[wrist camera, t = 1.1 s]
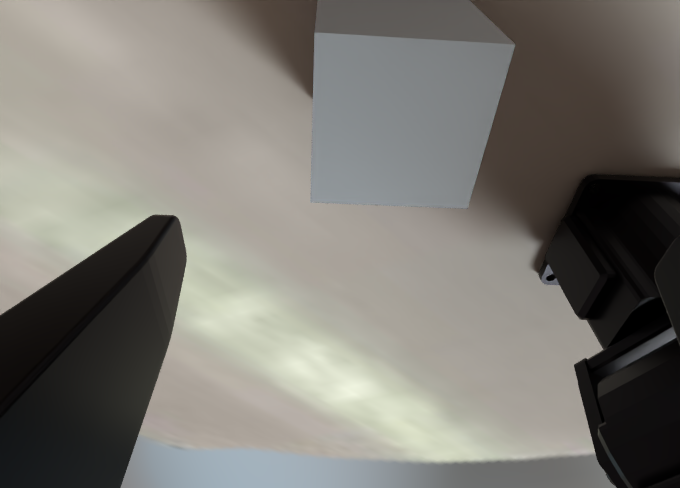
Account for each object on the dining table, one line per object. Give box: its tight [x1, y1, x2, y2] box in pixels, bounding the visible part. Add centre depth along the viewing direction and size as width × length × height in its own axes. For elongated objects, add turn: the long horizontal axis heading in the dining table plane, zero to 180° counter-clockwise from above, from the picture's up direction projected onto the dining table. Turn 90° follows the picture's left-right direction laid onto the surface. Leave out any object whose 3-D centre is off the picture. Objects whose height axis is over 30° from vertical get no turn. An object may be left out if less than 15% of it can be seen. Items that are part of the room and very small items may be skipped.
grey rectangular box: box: [310, 0, 516, 209], centre depth 14 cm, size 4×4×7 cm
